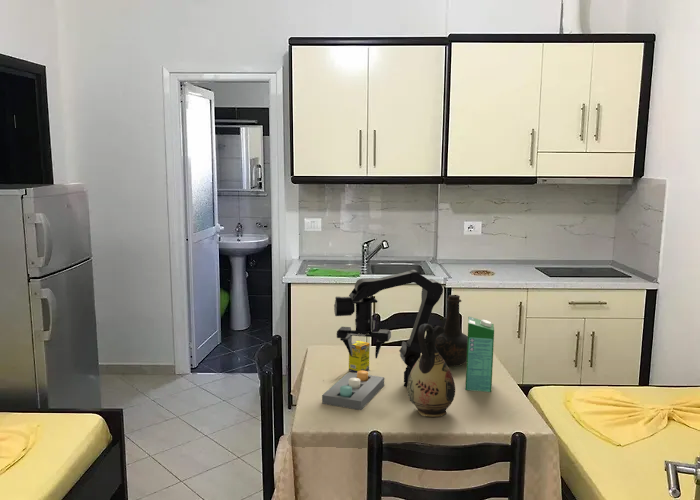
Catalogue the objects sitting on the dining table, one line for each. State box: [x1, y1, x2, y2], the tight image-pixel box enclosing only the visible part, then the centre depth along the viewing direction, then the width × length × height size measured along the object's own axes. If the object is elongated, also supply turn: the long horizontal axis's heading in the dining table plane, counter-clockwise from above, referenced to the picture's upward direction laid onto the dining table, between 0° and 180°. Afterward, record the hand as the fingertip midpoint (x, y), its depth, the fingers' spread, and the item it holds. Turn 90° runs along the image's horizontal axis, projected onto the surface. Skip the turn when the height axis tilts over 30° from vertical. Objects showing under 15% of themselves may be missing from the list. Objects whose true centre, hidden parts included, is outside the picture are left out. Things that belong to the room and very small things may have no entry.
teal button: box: [340, 385, 352, 398], centre depth 203 cm, size 4×4×3 cm
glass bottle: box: [435, 294, 468, 367], centre depth 242 cm, size 18×18×28 cm
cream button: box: [349, 378, 360, 389], centre depth 210 cm, size 4×4×3 cm
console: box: [321, 371, 385, 411], centre depth 210 cm, size 14×24×3 cm, turn 158°
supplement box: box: [348, 340, 371, 373], centre depth 234 cm, size 6×6×11 cm
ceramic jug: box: [406, 323, 456, 418], centre depth 194 cm, size 17×15×30 cm
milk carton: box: [465, 316, 495, 393], centre depth 217 cm, size 9×9×25 cm
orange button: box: [357, 370, 369, 381], centre depth 217 cm, size 4×4×3 cm
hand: (363, 357), depth 215 cm, fingers open, 9 cm apart
